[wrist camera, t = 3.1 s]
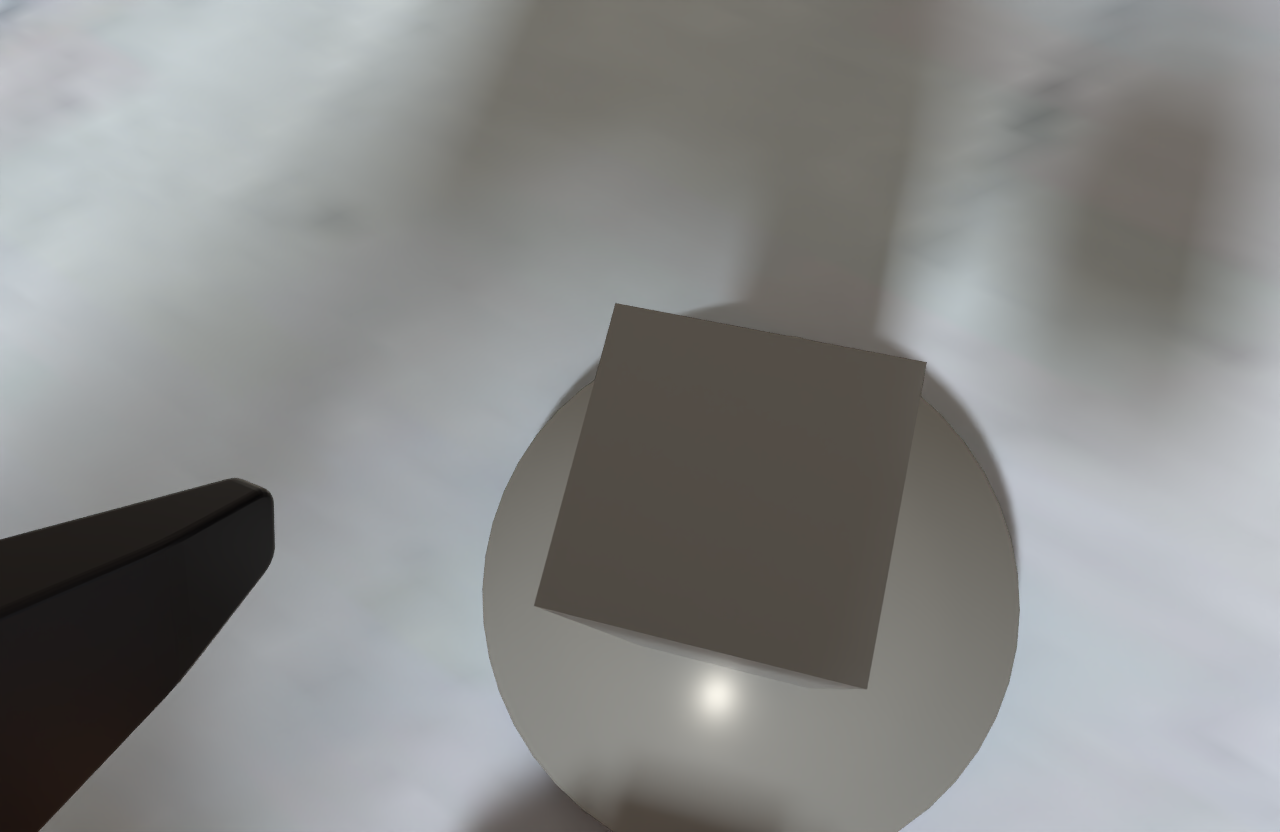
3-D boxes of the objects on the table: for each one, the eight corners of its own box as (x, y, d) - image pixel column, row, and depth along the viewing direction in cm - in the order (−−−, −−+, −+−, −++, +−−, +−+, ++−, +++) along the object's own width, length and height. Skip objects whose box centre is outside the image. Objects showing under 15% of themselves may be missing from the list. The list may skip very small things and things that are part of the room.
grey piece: (433, 780, 20) (91, 879, 10) (566, 308, 23) (410, -13, 12) (961, 933, 18) (1236, 1259, 8) (1041, 399, 21) (1328, 113, 11)
